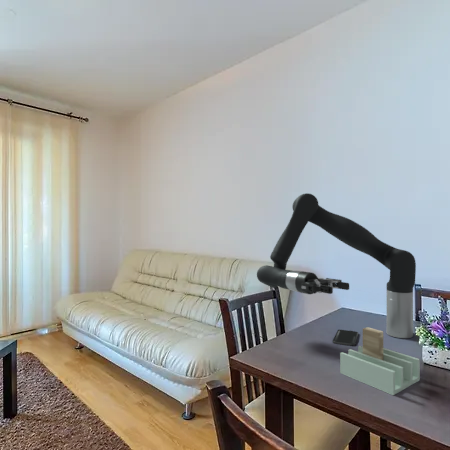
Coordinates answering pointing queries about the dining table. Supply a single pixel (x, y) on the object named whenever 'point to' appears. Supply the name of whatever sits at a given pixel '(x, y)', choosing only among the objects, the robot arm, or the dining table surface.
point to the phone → (346, 337)
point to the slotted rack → (381, 369)
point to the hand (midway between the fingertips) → (340, 288)
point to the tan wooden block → (373, 342)
